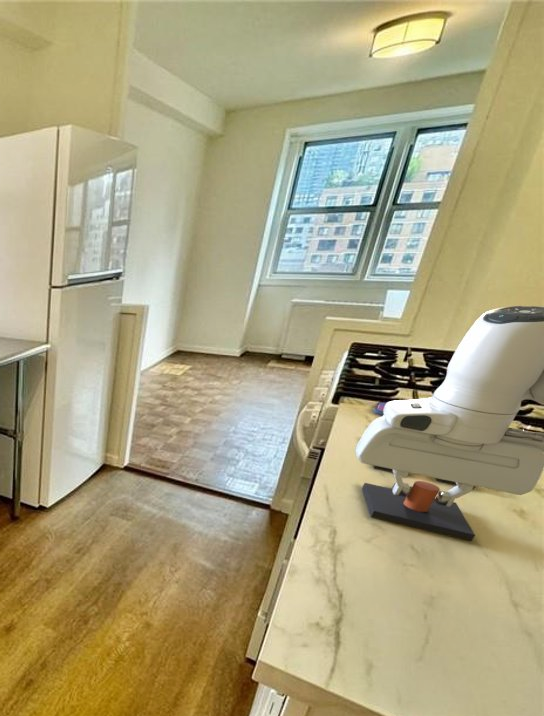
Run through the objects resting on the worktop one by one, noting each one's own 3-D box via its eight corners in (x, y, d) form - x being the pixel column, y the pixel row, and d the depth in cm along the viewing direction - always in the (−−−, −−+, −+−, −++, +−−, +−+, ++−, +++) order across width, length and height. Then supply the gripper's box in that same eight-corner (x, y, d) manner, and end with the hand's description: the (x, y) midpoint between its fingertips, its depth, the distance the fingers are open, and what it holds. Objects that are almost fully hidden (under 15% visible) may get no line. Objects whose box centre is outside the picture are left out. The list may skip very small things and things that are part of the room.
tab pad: (448, 501, 82) (463, 474, 79) (471, 541, 72) (489, 513, 70) (359, 481, 87) (371, 456, 85) (370, 517, 78) (384, 489, 75)
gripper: (555, 428, 69) (502, 508, 75) (374, 400, 78) (340, 473, 84) (576, 446, 64) (517, 529, 70) (380, 413, 73) (344, 490, 80)
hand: (419, 498), depth 77 cm, fingers open, 4 cm apart
